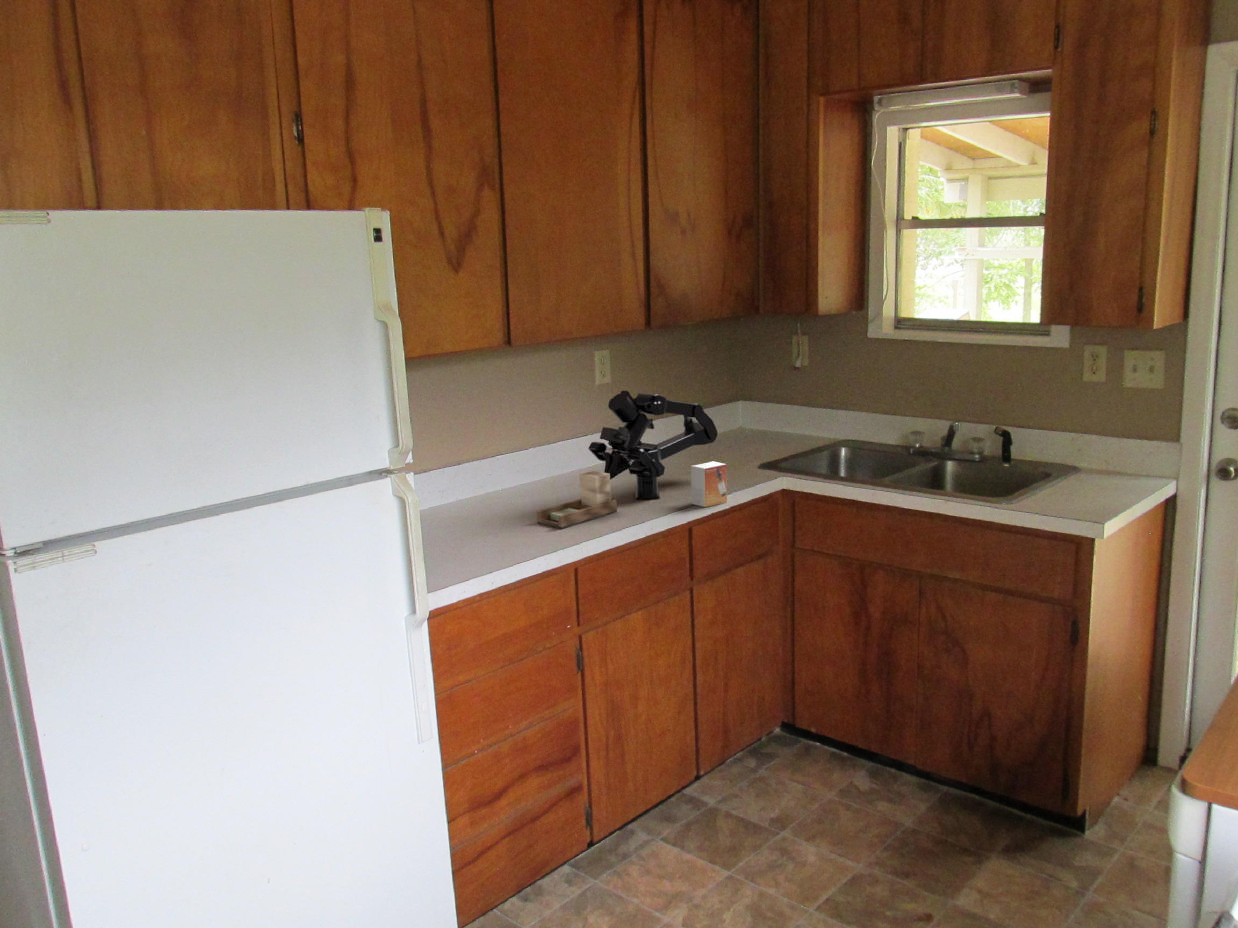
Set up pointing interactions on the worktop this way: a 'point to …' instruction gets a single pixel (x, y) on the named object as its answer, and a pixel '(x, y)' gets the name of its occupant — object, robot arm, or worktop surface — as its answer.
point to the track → (574, 513)
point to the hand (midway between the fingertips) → (604, 480)
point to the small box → (709, 484)
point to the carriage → (595, 488)
